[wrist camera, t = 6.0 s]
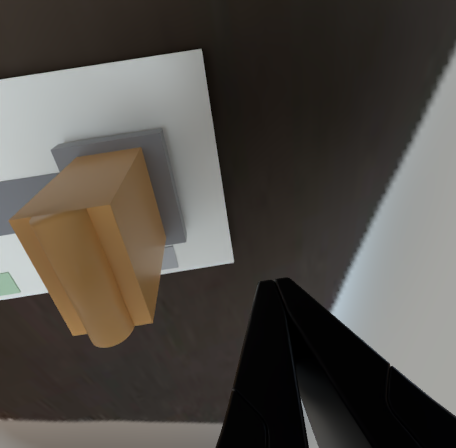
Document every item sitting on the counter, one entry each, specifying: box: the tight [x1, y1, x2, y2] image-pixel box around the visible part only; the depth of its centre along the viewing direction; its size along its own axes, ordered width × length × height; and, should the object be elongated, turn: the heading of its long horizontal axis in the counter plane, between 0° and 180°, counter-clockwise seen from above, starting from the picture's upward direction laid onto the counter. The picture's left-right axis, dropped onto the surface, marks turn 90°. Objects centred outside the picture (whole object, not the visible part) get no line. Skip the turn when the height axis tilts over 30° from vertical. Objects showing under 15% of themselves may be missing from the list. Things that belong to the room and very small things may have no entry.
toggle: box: [8, 128, 187, 348], centre depth 13 cm, size 5×6×8 cm
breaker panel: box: [0, 49, 234, 300], centre depth 18 cm, size 22×12×2 cm, turn 97°
